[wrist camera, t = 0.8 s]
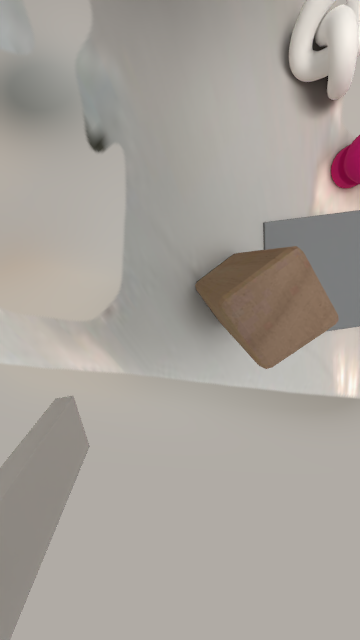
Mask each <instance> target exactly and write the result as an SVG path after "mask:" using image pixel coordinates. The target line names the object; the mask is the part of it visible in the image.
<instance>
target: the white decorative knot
mask: <svg viewBox="0 0 360 640" xmlns="http://www.w3.org/2000/svg"><path fill="white" fill-rule="evenodd" d="M335 1H336V0H306V1H305V3H304V5H303V7H302V9H301V11H300V13H299V16H298V18H297V20H296V23H295V26H294V29H293V33H292V36H291V41H290V46H289V64H290V68H291V71H292V73H293V74H294V76H295V77H296V78H297V79H299V80H300V81H303V82H312V81H316V80H318V79H321V78H324V77H326V76H328V86H327V94H328V97H329V98H330V99H332V100H336V99H339V98H341V97H342V96H344V95H345V94H346V92H347V91H348V90H349V88H350V86H351V83H352V79H353V76H354V72H355V66H356V60H357V57H358V56H359V55H360V0H347V3H346V4H345V5H339V6H337V7H336V8H334V9H332V10H331V11H329V12H328V13H327V14H326V15H325V13H326V12H327V10H328V9H329V8H330V6H331V5H332V4H333V3H334V2H335ZM324 15H325V16H324ZM323 16H324V17H323ZM315 32H316V33H315ZM314 35H315V40H316V43H317V44H318V45H319V47H322V46H328V47H326V48H324V49H322V50H320V51H314V50H313V48H312V44H313V39H314Z"/></svg>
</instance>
